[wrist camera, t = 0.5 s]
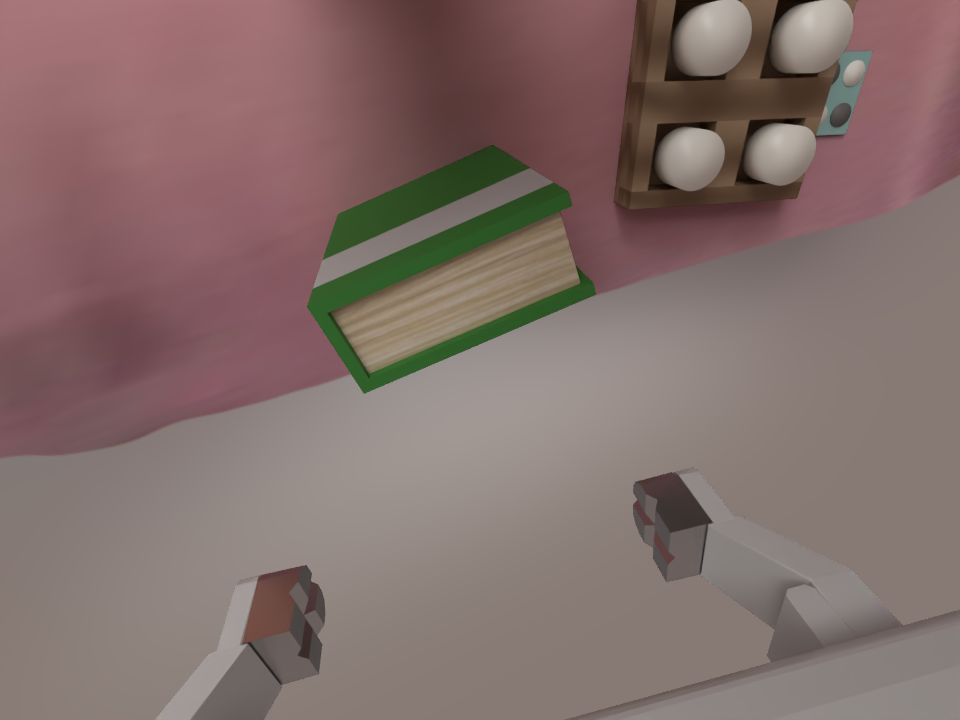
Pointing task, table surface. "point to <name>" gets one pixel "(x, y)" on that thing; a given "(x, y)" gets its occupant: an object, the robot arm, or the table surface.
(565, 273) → the hardback book
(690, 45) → the button
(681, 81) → the wooden compartment tray
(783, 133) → the button
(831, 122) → the card
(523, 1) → the table surface
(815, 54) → the button
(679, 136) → the button
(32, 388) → the table surface
